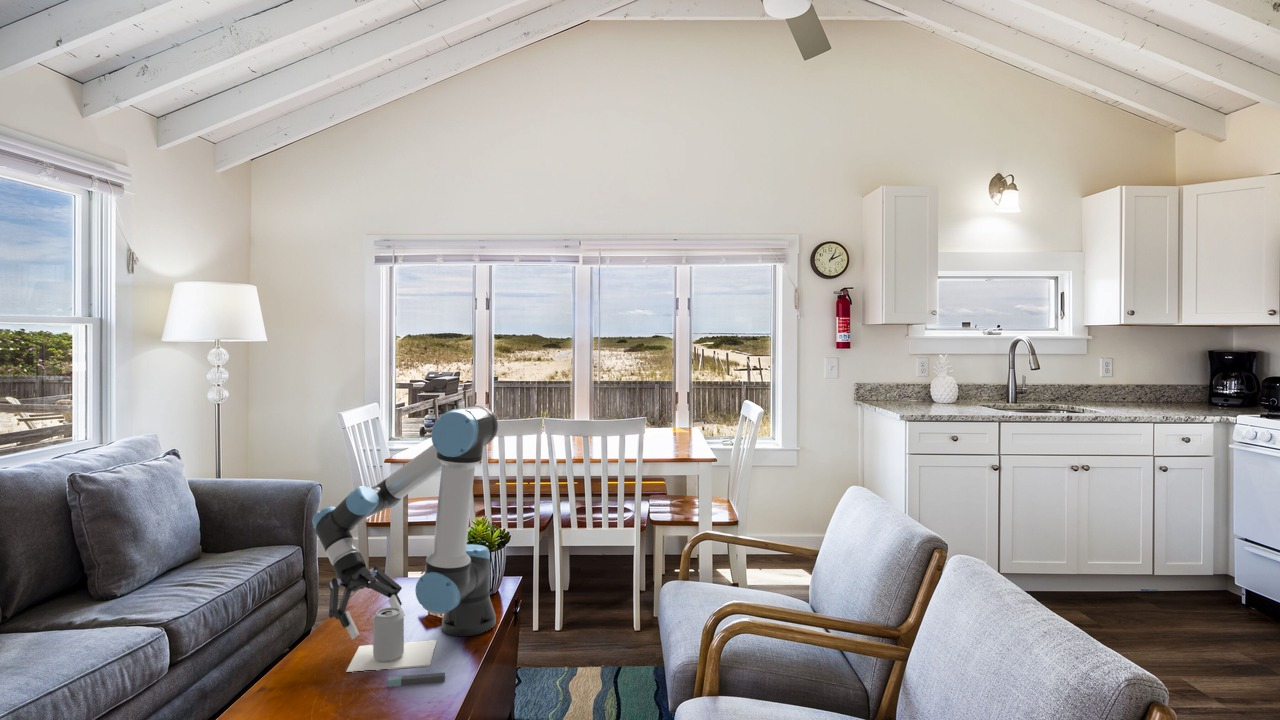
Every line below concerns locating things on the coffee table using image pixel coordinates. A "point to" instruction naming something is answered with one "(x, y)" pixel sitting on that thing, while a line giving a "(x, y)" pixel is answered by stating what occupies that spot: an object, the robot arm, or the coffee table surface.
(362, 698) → the coffee table surface
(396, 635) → the can
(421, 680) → the marker
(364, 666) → the paper
